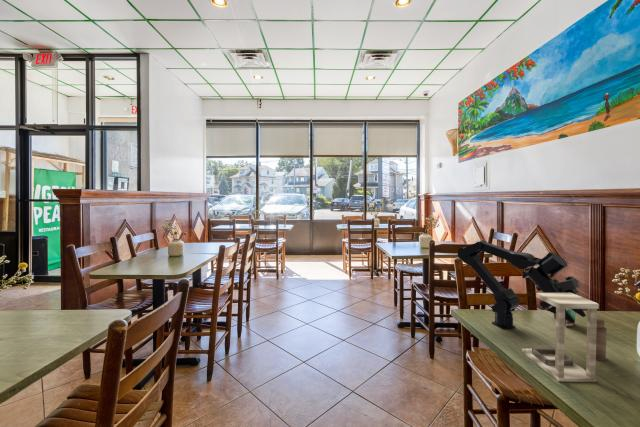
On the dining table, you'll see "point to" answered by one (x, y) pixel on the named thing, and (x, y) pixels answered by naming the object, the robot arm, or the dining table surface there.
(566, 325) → the food container
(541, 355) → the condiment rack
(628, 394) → the dining table surface
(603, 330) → the pepper mill
